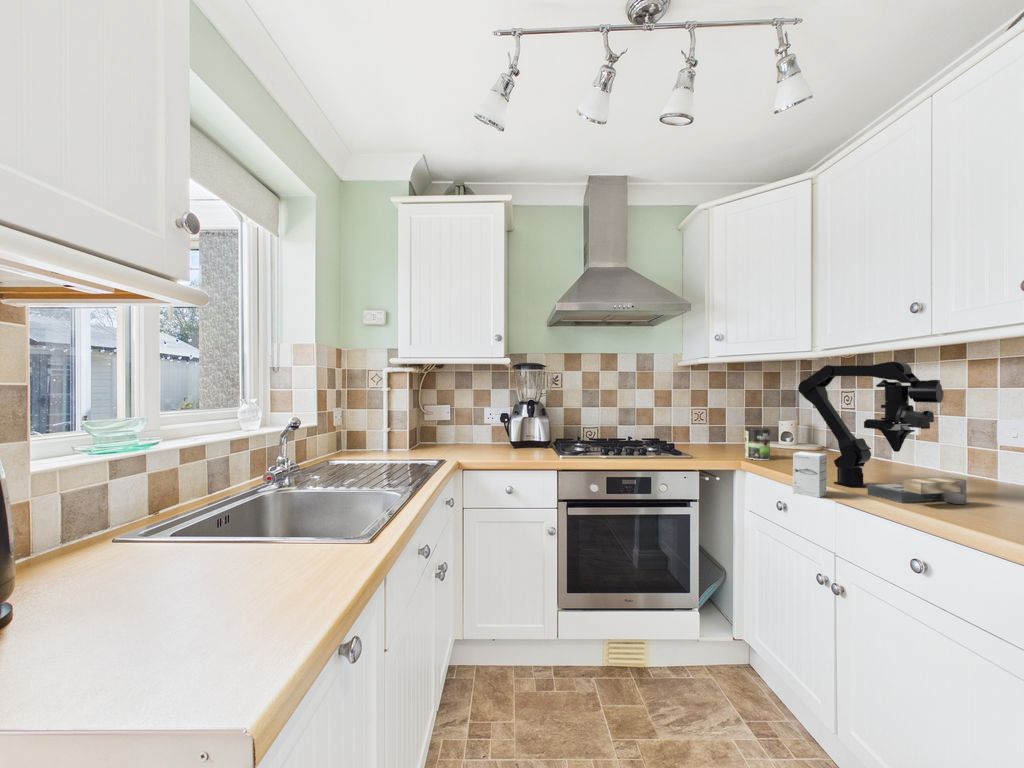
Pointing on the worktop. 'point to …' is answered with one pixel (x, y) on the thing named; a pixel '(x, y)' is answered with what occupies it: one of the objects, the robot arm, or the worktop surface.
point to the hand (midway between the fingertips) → (896, 451)
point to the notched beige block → (939, 488)
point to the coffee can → (757, 443)
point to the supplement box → (809, 474)
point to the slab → (901, 493)
